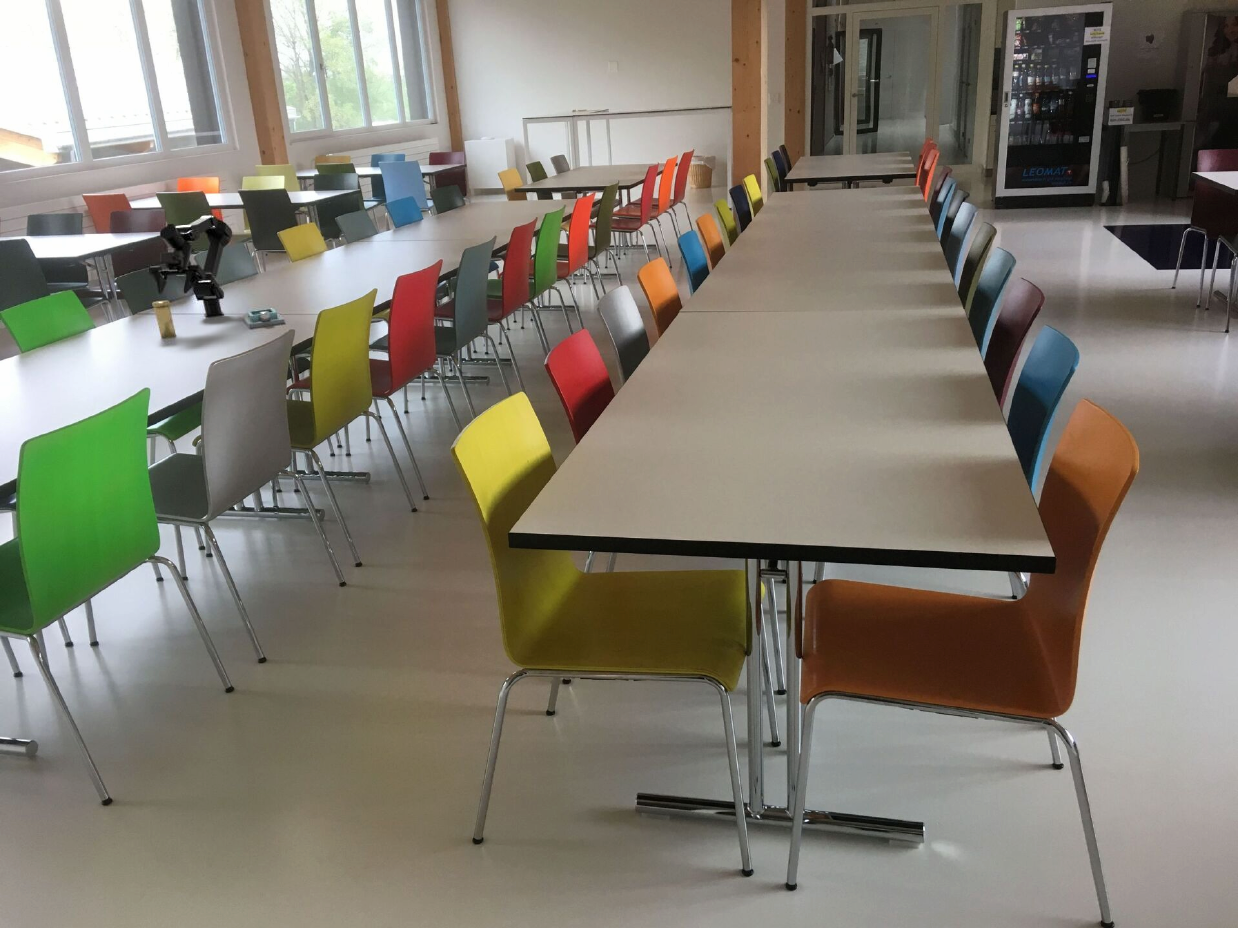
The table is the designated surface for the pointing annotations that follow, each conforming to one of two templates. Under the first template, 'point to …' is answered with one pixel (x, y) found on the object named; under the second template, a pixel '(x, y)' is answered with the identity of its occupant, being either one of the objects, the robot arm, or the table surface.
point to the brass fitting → (164, 319)
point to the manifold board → (261, 324)
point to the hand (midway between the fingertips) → (172, 293)
